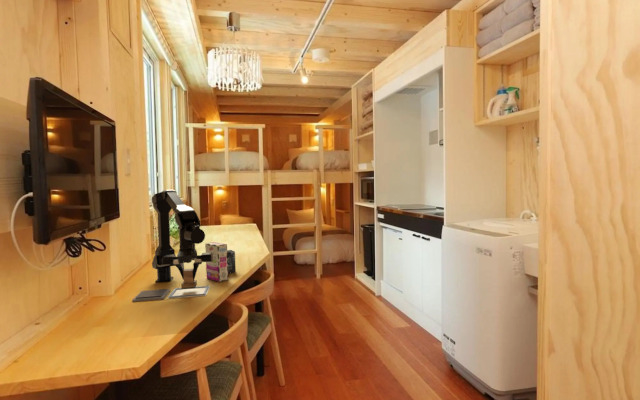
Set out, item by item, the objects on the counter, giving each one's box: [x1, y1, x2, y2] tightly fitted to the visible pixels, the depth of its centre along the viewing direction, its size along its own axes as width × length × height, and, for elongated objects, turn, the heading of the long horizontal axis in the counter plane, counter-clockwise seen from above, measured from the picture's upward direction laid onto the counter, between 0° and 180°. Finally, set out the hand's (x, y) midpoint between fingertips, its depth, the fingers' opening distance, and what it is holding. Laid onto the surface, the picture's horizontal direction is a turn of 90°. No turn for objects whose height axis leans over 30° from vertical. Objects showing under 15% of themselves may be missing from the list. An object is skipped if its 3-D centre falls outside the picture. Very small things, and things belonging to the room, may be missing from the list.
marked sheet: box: [166, 285, 211, 300], centre depth 147 cm, size 12×14×1 cm
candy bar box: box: [205, 241, 229, 283], centre depth 165 cm, size 11×5×16 cm, turn 47°
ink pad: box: [131, 288, 171, 303], centre depth 143 cm, size 11×11×1 cm
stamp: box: [180, 268, 198, 289], centre depth 146 cm, size 5×5×7 cm
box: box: [227, 249, 237, 275], centre depth 177 cm, size 8×6×11 cm
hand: (189, 279), depth 146 cm, fingers closed on stamp, 3 cm apart
